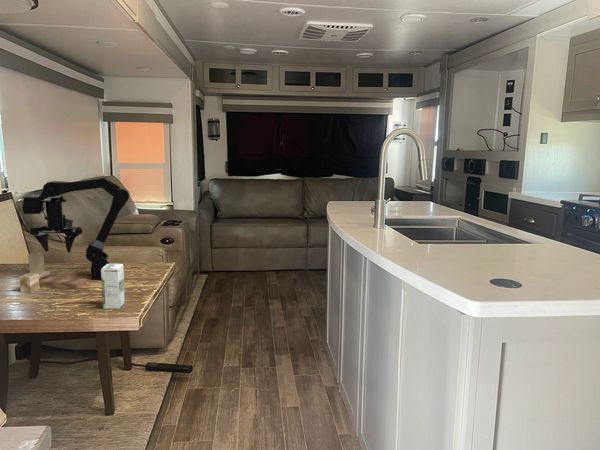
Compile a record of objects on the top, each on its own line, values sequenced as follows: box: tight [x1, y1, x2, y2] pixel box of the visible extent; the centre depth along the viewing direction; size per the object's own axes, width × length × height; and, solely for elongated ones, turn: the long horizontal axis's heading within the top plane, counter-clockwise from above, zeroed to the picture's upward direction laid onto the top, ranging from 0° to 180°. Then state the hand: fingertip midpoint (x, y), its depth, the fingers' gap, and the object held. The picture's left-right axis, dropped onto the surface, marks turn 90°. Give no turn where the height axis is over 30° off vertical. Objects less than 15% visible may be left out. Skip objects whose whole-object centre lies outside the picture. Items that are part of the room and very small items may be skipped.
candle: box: [27, 250, 46, 274], centre depth 187 cm, size 6×6×10 cm
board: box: [39, 276, 87, 290], centre depth 176 cm, size 20×6×2 cm, turn 85°
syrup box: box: [101, 263, 126, 310], centre depth 153 cm, size 6×6×14 cm
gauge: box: [19, 270, 51, 294], centre depth 173 cm, size 4×14×6 cm, turn 175°
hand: (57, 251), depth 179 cm, fingers open, 9 cm apart
